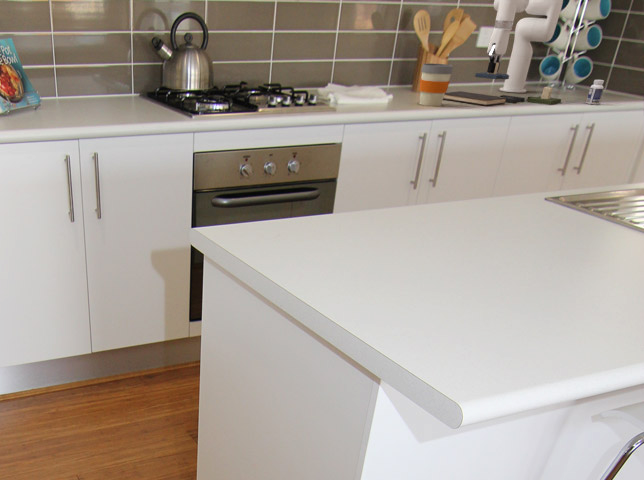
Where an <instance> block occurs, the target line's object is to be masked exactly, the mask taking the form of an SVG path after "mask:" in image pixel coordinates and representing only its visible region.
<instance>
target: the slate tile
mask: <svg viewBox="0 0 644 480" xmlns="http://www.w3.org/2000/svg"><path fill="white" fill-rule="evenodd" d="M498 66H499V67H500V65H499V63H496V67H495V71H494V73H488V72H487V71H485V72H475V75H474V77H475V78H482V79H491V80H505V79H509V75H508V74H507V73H501V72H497V70H498ZM498 71H499V70H498Z"/></svg>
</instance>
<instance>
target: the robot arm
mask: <svg viewBox="0 0 644 480" xmlns="http://www.w3.org/2000/svg"><path fill="white" fill-rule="evenodd" d="M493 1H494V2H493V9H494V11H496V15H495V16H496V17H495V21H494V25H493V31H492V33H491V36H490V38H489V43H488V47H487V51H486V54H487V55H488V57H489V58H488V59H489V60H488V66H487V70H486V72H488V73H494V71H495V67H496V63H499V66H498V70H497V73H499V69H500V66H501V62H502V58H503V57H504V56H505V54H506V52H507V50H508V49H507V48H508V45H509V41H510V39H509V38H510V35H511V31H512V29H513V25H514V20H515V16H516V14H519V13H523V12H526V14H528V15H534V16H546V18H543V17H541V18H539V17H523V18H521V19H519V20H518V21H517V23H516V25H515V30H514V38H513V39H514V41H513V44H512V50H511V54H510V57H509V61H508V66H507V71H506V74H508V75H509V79H504V82H503V86H502V87H499V89H498V90H499V91H500V92H504V93H513V94H514V93H515V94H516V93H517V94H525V93H527V89H525V88H524V87H526V85H527V82H526V81H527V76H528V73H529V69H530V65H531V61H532V58H533V52H534V50H533V46H532V44H531V42H536V43H548V42H549V41H551V39H553V36H554V34H555V31H556V27H557V24H558V22H559V21H558V20H559V18H560V15H561V11H562V7H563V3H564V0H493Z"/></svg>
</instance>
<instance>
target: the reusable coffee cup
mask: <svg viewBox="0 0 644 480" xmlns="http://www.w3.org/2000/svg"><path fill="white" fill-rule="evenodd" d="M453 68H454V65H452V64H446V63H445V64H444V63H432V62H431V63H429V62H428V63H423V64H422V67H421V71H420V72H421V76H420V77H421V78H420V79H419V105H422V106H427V107H428V106H429V107H441V106H442V104H443V100H444V99H443V98H444V94H445V93H447V91H448V88H449V85H450V82H451V81H450V78H451V75H452V74H453Z"/></svg>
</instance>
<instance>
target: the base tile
mask: <svg viewBox="0 0 644 480" xmlns="http://www.w3.org/2000/svg"><path fill="white" fill-rule="evenodd" d="M497 97H504V98H506V102H505V103H507V104H516V103H517V102H518V103H521V102H522V103H523V102H525V99H526V97H523V96H514V95H507V94H502V95H499V96H498V95H497Z"/></svg>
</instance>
